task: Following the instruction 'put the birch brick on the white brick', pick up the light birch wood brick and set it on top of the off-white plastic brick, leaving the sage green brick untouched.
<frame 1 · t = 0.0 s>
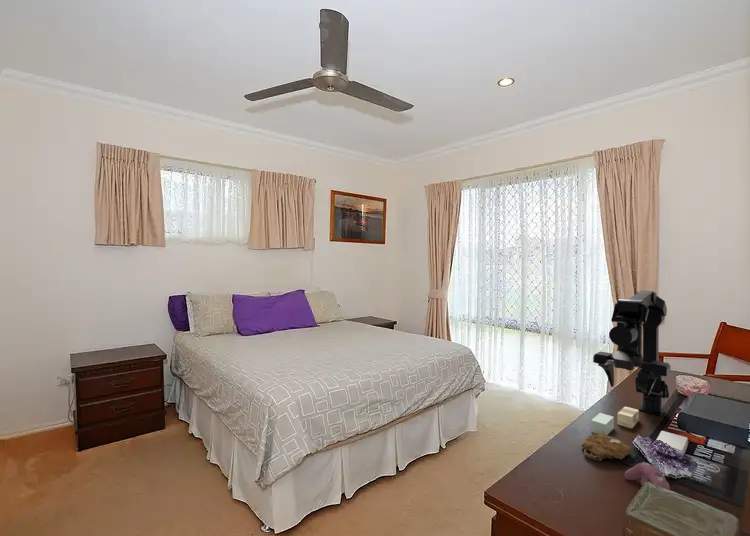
hand: (629, 390, 111), 15 cm above the table, tool pointing down, fingers open, 9 cm apart
birch brick: (628, 423, 121), on the table
decorative rock: (605, 455, 102), on the table
white brick: (671, 450, 104), on the table
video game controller: (646, 491, 86), on the table
sage brick: (602, 430, 116), on the table
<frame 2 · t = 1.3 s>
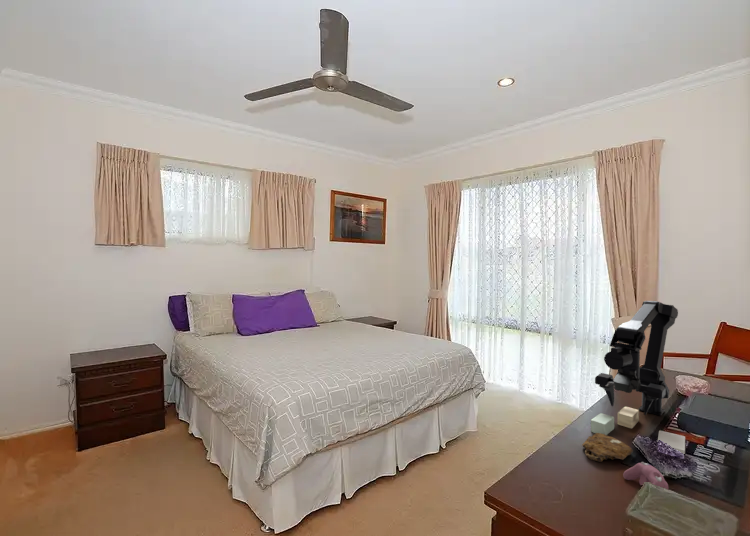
hand: (628, 410, 121), 4 cm above the table, tool pointing down, fingers open, 9 cm apart
nothing on the table moved.
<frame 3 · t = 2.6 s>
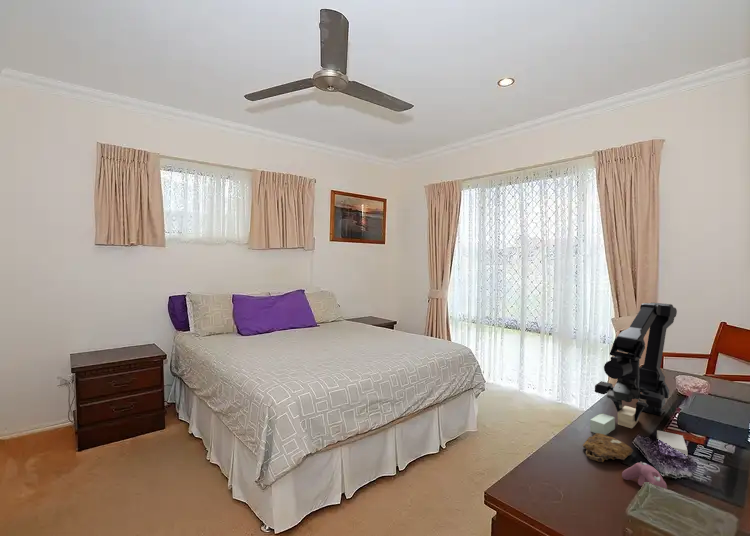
hand: (628, 419, 121), 1 cm above the table, tool pointing down, fingers closed on birch brick, 4 cm apart
birch brick: (628, 422, 121), on the table, touching gripper
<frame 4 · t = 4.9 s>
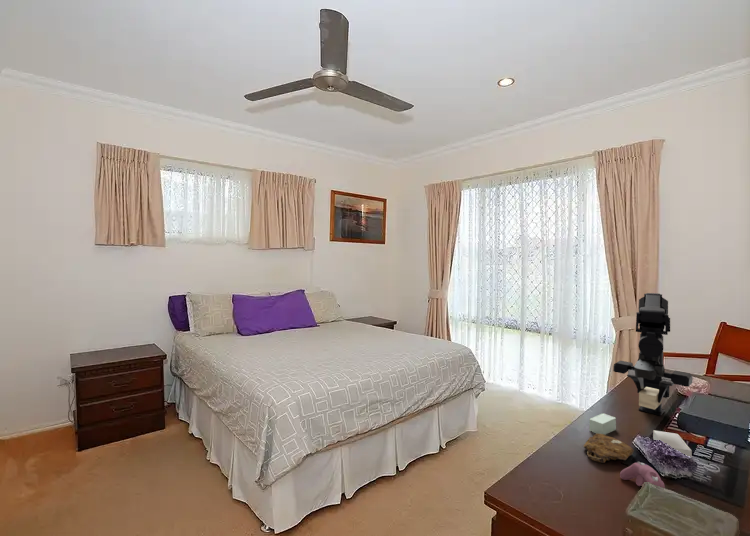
hand: (650, 400, 111), 11 cm above the table, tool pointing down, fingers closed on birch brick, 4 cm apart
birch brick: (650, 404, 111), point 10 cm above the table, touching gripper
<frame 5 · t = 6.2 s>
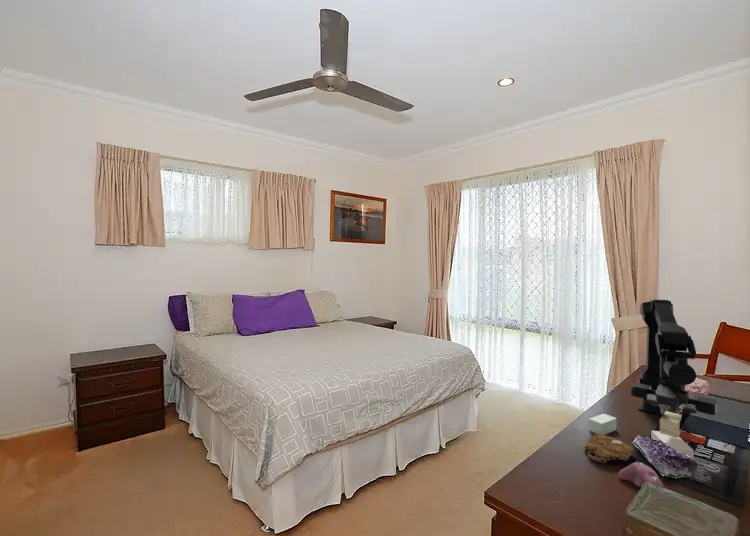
hand: (671, 426, 104), 6 cm above the table, tool pointing down, fingers closed on birch brick, 4 cm apart
birch brick: (671, 430, 104), point 5 cm above the table, touching gripper
when the fingers open (6 cm above the table, at t = 7.0 s): birch brick drops 2 cm, resting on white brick.
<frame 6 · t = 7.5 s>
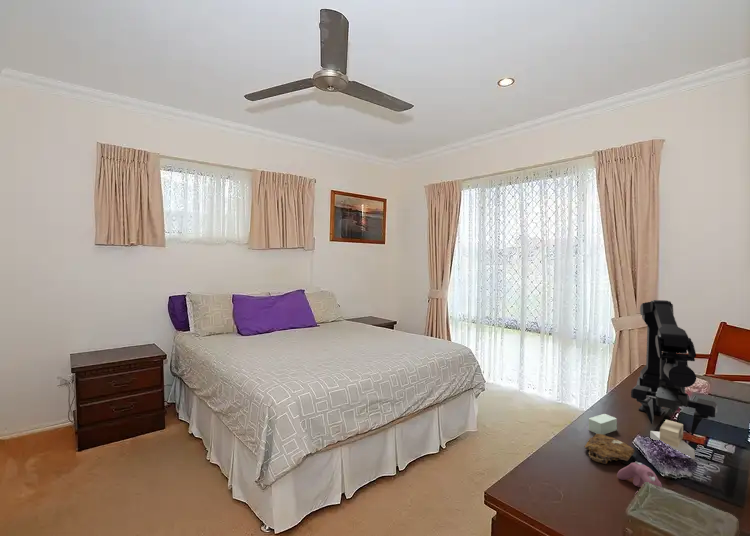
hand: (671, 428, 104), 6 cm above the table, tool pointing down, fingers open, 9 cm apart
birch brick: (671, 439, 105), point 3 cm above the table, touching white brick
white brick: (671, 450, 104), on the table, touching birch brick
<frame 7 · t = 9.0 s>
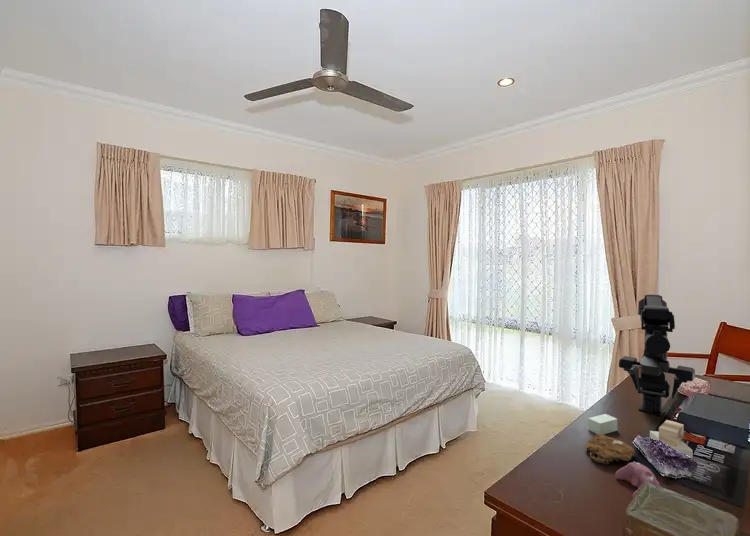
hand: (654, 393, 116), 12 cm above the table, tool pointing down, fingers open, 9 cm apart
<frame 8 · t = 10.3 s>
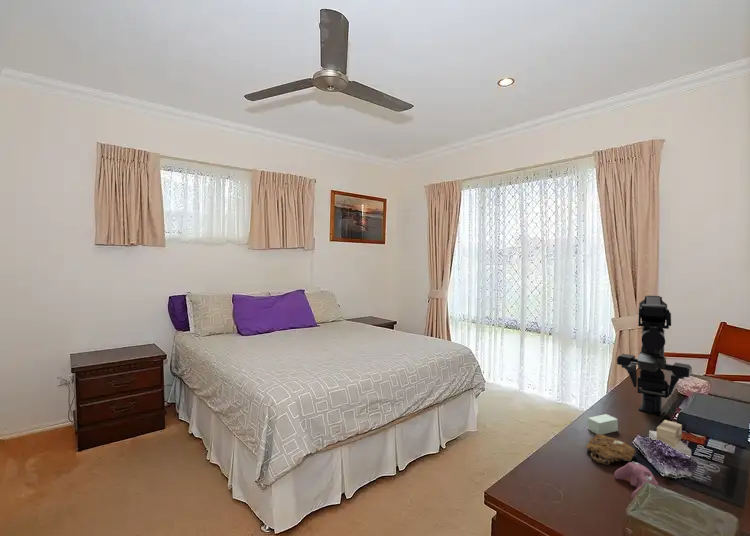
hand: (652, 390, 117), 12 cm above the table, tool pointing down, fingers open, 9 cm apart
birch brick: (669, 439, 105), point 3 cm above the table
white brick: (668, 450, 105), on the table
at the end: birch brick 0.1 cm off-centre on the white brick, point 3.0 cm above the white brick's base; the gripper is holding nothing; sage brick moved 0.2 cm from its start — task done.
